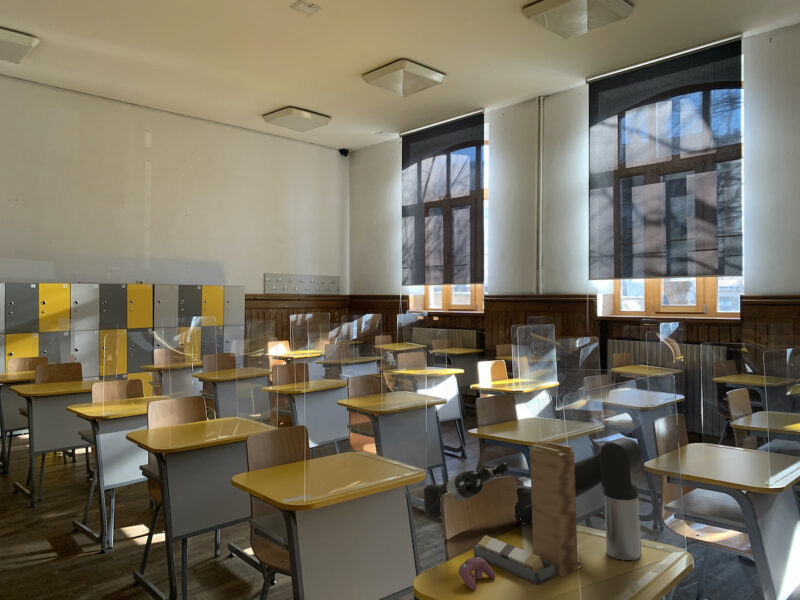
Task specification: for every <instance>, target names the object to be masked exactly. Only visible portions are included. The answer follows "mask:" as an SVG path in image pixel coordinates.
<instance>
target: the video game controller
mask: <svg viewBox="0 0 800 600" xmlns="http://www.w3.org/2000/svg"><path fill="white" fill-rule="evenodd" d="M483 573H484V574H485V575H486V576H487V577H488V578H490V579H492V580H495V578H496V573H495V571H494V569H493V568H492V567H491V566H490V565H489V563H488V562H486V561H485V560H484V559H482V557H471V558H467V559H466V560H465V561H464V562H462V564H461V565H460V566H459V567H458V575H459V577H460V578H461V579H462V580H463V582H464V584H465V585H466V586H467V587H468V588H469V589H470V590H472V591H475V590H476V589H477V584H476V580H481V579H483V577H484V576H483Z"/></svg>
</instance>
